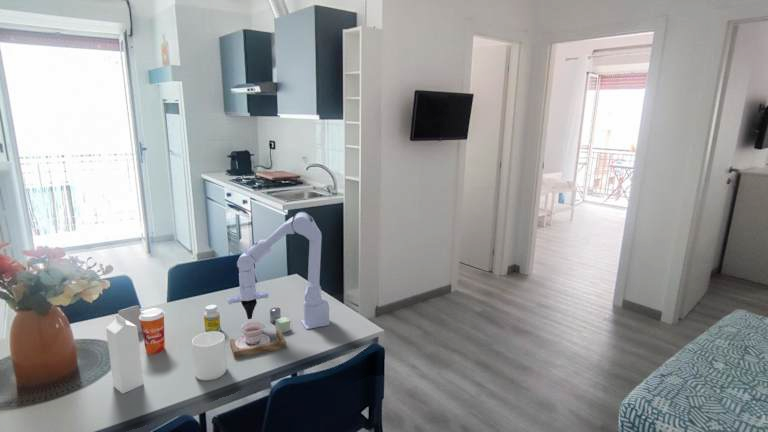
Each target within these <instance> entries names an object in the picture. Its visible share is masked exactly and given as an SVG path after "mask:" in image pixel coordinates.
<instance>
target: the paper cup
mask: <svg viewBox="0 0 768 432" xmlns="http://www.w3.org/2000/svg"><path fill="white" fill-rule="evenodd" d="M140 312H141V315H140V317H139V319H140V321H141V327H142V332H141V333H142V337H143V341H144V347H145V353H146V354H148V355H157V354H160V353H162V352H163V351H165V346H166V345H165V315H166V312H165V311H164V310H163V309H162V308H160V307H159V308H158V307H154V308H153V307H152V308H148V309H145V310H143V311H140Z"/></svg>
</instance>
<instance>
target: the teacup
mask: <svg viewBox="0 0 768 432" xmlns="http://www.w3.org/2000/svg"><path fill="white" fill-rule="evenodd" d="M264 328H265V324H264V323H262V322H259V321H250V322H249V321H248V322H245V323H243V324H242V325H241V327H240V329H241V332H242V333H243V335H242V336H240V337H239V338H238V339H237V340H236V341H235V345H236V348H237V349H242V348H247V347H252V346H257V345H261V344H266V343H271V338H270V336H268V335H267V334H264V333H262V332H263V330H264ZM247 343H248V344H249V345H248V344H247Z"/></svg>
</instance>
